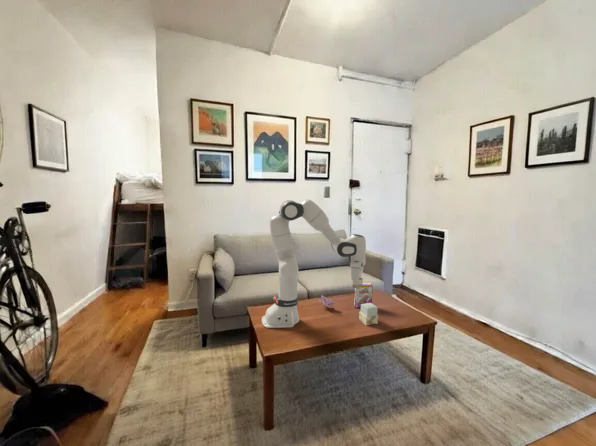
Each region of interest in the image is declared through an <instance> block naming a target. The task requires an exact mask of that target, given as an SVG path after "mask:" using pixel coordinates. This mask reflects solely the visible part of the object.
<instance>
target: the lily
mask: <svg viewBox="0 0 596 446" xmlns="http://www.w3.org/2000/svg"><path fill="white" fill-rule="evenodd" d="M320 296H321V299H318V302H321V303H323V306H324V307H325V308H324V311H327V310H326V308H327V306H328V307H330V308H331V309H333V308H334V307H333V305H338V303H337V302H336V301H334V300H332V298H330V297H329V298H327V297H326V296H324V295H323V294H322V295H320Z"/></svg>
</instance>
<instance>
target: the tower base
mask: <svg viewBox="0 0 596 446" xmlns="http://www.w3.org/2000/svg"><path fill="white" fill-rule="evenodd" d="M358 320H359V321H360V322H362V323H363V324H364V325H365V326H370V325H377V324H379V315H378V314H377V316H371V317H366V316H365V315H364V314H362V313H361V310H360V311H358Z"/></svg>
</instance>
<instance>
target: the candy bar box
mask: <svg viewBox="0 0 596 446" xmlns="http://www.w3.org/2000/svg"><path fill="white" fill-rule="evenodd" d="M373 289H374V285H373V283H371V282H362V288H361V289H359V288H354V302H353V304H354V308H355V309H357V308H358V309H361V304H365V303H372V304H373Z"/></svg>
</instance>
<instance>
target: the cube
mask: <svg viewBox="0 0 596 446" xmlns="http://www.w3.org/2000/svg"><path fill="white" fill-rule="evenodd" d="M362 283H363V277H361V278H359V280H358V286H356V285H355V281H353V280H352V288H353V289H355V288H359V289H361V288H362Z"/></svg>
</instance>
